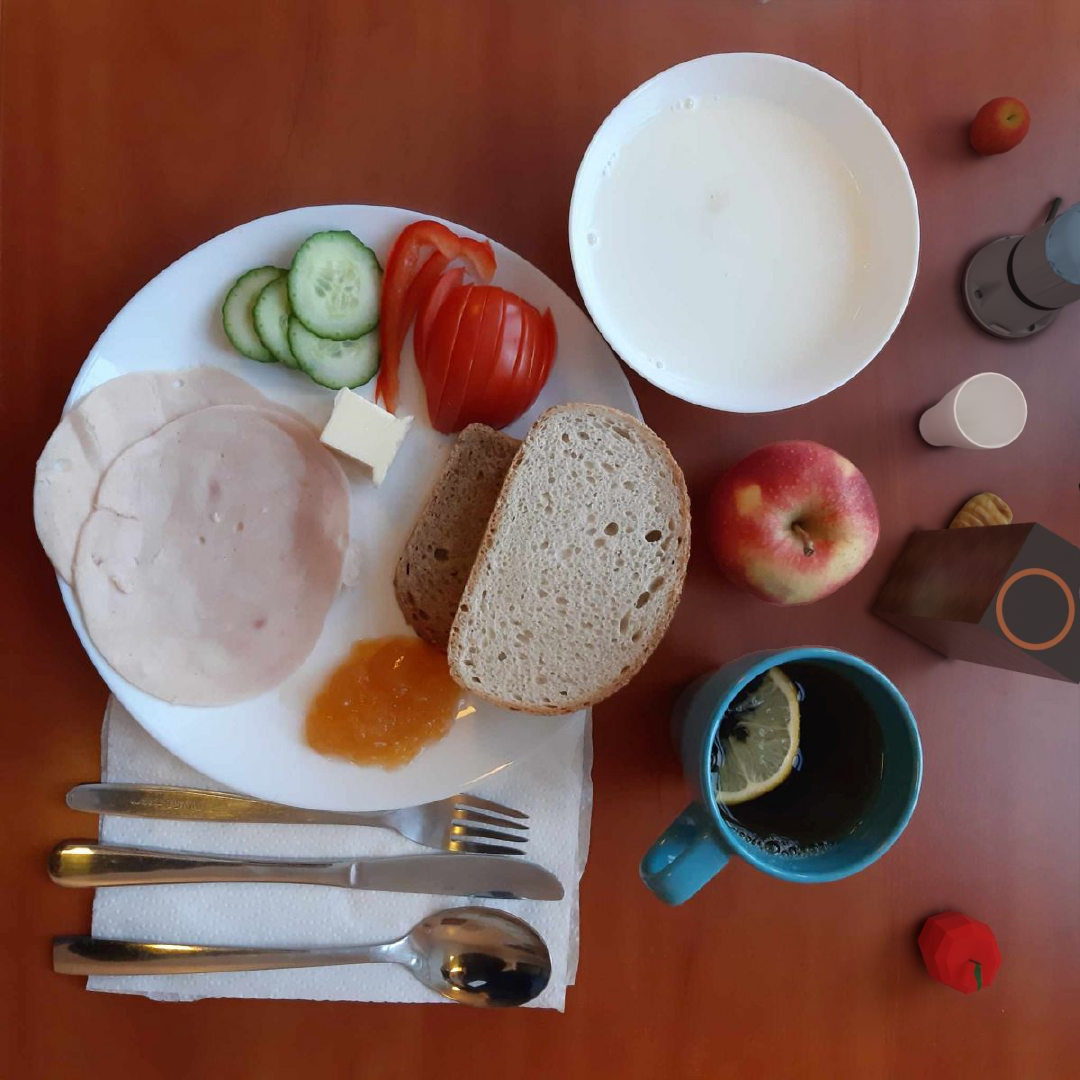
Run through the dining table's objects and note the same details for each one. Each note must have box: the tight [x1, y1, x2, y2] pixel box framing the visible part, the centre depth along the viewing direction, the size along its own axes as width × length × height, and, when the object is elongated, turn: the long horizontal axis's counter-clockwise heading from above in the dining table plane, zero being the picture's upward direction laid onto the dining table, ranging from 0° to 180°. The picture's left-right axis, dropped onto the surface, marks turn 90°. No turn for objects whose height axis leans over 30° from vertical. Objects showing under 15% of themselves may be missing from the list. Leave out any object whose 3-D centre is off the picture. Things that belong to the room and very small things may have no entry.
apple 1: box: [917, 909, 1003, 995], centre depth 122 cm, size 11×11×10 cm
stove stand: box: [871, 521, 1077, 685], centre depth 115 cm, size 14×14×28 cm
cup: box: [918, 371, 1028, 451], centre depth 123 cm, size 10×10×14 cm
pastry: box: [948, 491, 1013, 529], centre depth 127 cm, size 9×7×4 cm
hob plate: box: [979, 521, 1080, 686], centre depth 101 cm, size 14×14×1 cm
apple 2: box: [969, 95, 1031, 156], centre depth 127 cm, size 8×8×8 cm
